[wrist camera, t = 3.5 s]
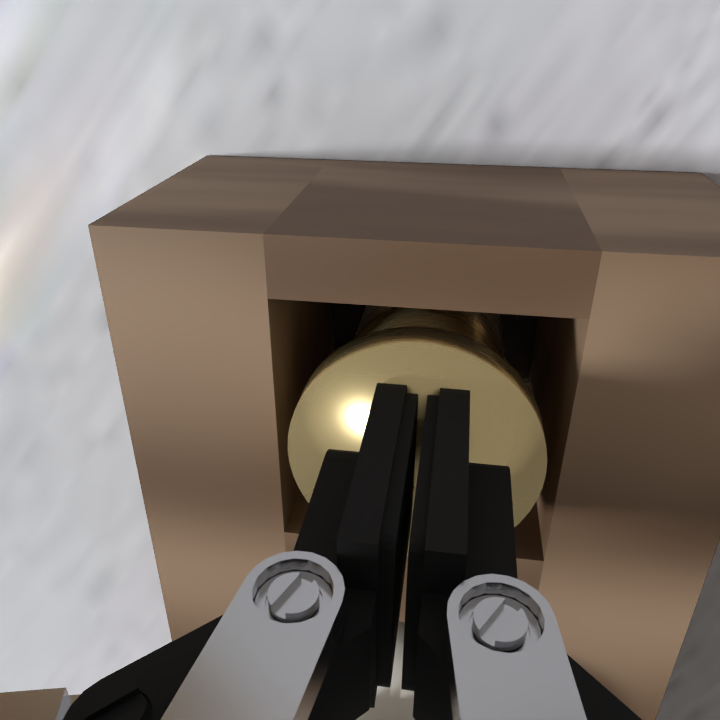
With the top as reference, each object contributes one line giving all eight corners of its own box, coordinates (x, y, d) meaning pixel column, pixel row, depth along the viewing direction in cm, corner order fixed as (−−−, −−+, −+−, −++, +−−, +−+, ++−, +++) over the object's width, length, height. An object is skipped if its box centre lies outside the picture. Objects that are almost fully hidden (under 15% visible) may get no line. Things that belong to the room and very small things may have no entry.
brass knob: (513, 407, 18) (529, 570, 13) (342, 393, 19) (293, 543, 14) (536, 240, 16) (566, 357, 11) (341, 231, 17) (280, 337, 11)
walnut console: (552, 767, 27) (572, 952, 22) (268, 724, 28) (221, 887, 23) (701, 172, 15) (818, 262, 10) (207, 155, 17) (87, 225, 12)
